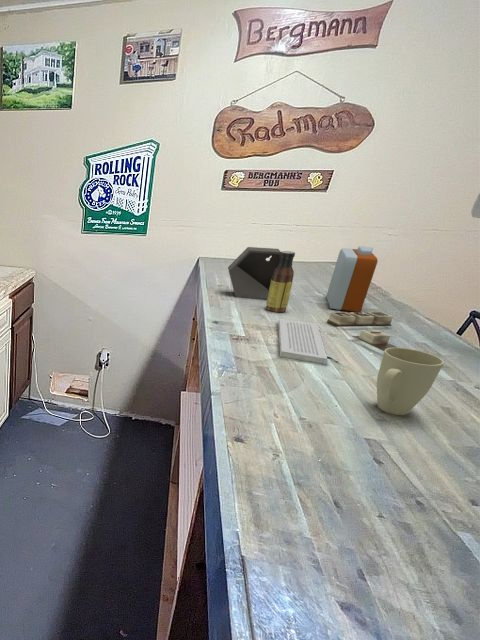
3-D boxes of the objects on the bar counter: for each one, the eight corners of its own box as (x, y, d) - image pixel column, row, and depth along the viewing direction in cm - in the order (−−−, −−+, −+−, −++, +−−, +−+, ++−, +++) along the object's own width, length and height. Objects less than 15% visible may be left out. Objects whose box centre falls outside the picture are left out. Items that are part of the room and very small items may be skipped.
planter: (217, 282, 173) (262, 237, 162) (217, 278, 179) (259, 234, 168) (253, 310, 171) (301, 267, 160) (251, 305, 178) (297, 263, 167)
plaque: (279, 318, 143) (317, 323, 139) (278, 323, 144) (315, 328, 140) (281, 351, 119) (327, 358, 115) (280, 356, 119) (325, 364, 115)
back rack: (375, 321, 146) (379, 310, 145) (391, 327, 141) (395, 316, 139) (325, 322, 145) (329, 311, 144) (339, 328, 140) (343, 317, 138)
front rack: (370, 338, 132) (374, 327, 130) (420, 361, 117) (425, 348, 116) (350, 339, 131) (354, 327, 130) (397, 361, 117) (402, 348, 115)
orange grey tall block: (360, 313, 153) (381, 252, 145) (329, 309, 157) (348, 249, 149) (353, 300, 168) (372, 243, 160) (325, 297, 172) (342, 241, 164)
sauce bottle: (281, 308, 159) (296, 250, 151) (288, 313, 153) (304, 253, 145) (261, 307, 160) (275, 249, 152) (267, 312, 154) (282, 253, 146)
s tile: (346, 319, 145) (348, 311, 144) (360, 319, 145) (362, 311, 144) (357, 324, 140) (360, 316, 139) (371, 324, 141) (374, 316, 140)
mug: (354, 394, 100) (372, 344, 95) (410, 403, 96) (432, 351, 92) (369, 418, 91) (390, 363, 86) (432, 429, 87) (458, 372, 82)
